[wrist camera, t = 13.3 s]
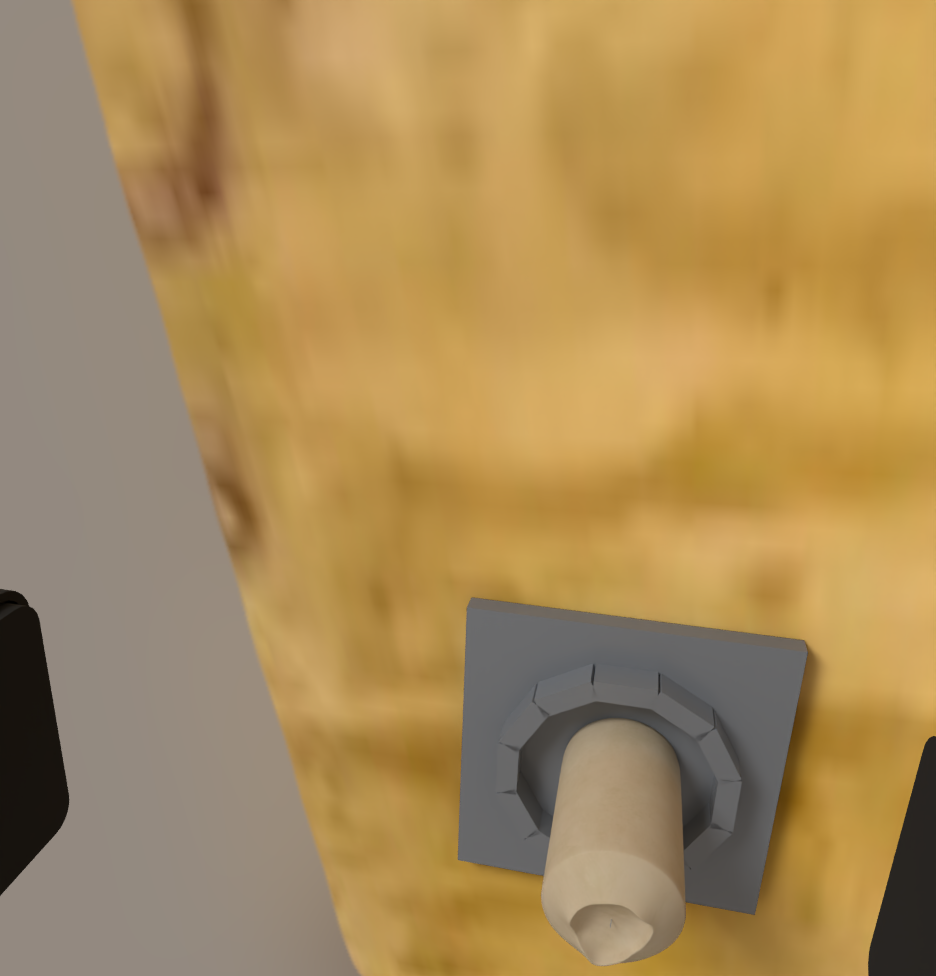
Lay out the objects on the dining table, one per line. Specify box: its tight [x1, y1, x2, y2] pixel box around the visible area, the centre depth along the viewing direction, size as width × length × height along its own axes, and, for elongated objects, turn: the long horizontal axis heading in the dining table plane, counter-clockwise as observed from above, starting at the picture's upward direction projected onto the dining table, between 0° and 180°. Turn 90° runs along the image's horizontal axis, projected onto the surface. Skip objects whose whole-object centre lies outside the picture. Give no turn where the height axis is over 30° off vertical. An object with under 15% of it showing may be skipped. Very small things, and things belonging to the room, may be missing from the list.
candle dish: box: [458, 598, 808, 915], centre depth 41 cm, size 15×15×2 cm
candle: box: [541, 718, 686, 966], centre depth 36 cm, size 6×6×10 cm
